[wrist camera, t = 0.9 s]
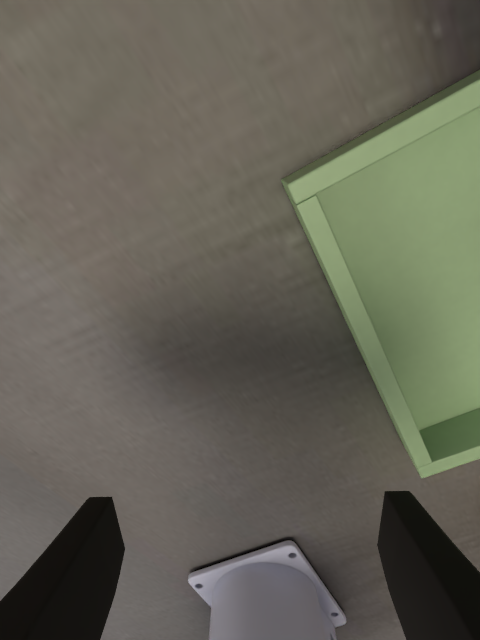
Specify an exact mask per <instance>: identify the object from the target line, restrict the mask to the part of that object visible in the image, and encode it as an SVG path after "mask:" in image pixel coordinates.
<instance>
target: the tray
mask: <svg viewBox="0 0 480 640" xmlns="http://www.w3.org/2000/svg"><path fill="white" fill-rule="evenodd" d="M281 182H282V184H283V186H284V188H285V190H286V193H287V195H288V197H289V199H290V201H291V203H292V206H293V208H294V210H295V212H296V214H297V216H298V218H299V221H300V223H301V225H302V227H303V229H304V231H305V234H306V236H307V238H308V240H309V242H310V244H311V247H312V249H313V251H314V253H315V255H316V257H317V260H318V262H319V264H320V266H321V268H322V270H323V273H324V275H325V277H326V279H327V281H328V283H329V286H330V288H331V290H332V292H333V294H334V296H335V299H336V301H337V303H338V305H339V307H340V309H341V312H342V314H343V316H344V318H345V320H346V322H347V325H348V327H349V329H350V331H351V333H352V335H353V337H354V340H355V342H356V344H357V346H358V348H359V350H360V353H361V355H362V357H363V359H364V361H365V363H366V366H367V368H368V370H369V372H370V374H371V376H372V379H373V381H374V383H375V385H376V387H377V389H378V392H379V394H380V396H381V398H382V400H383V402H384V405H385V407H386V409H387V411H388V413H389V415H390V418H391V420H392V422H393V424H394V426H395V428H396V431H397V433H398V435H399V437H400V439H401V441H402V443H403V445H404V447H405V449H406V451H407V453H408V454H409V456H410V458H411V460H412V462H413V464H414V466H415V468H416V469H417V471H418V473H419V475H420V477H421V478H425V477H428V476H431V475H433V474H436V473H439V472H442V471H445V470H448V469H451V468H454V467H457V466H460V465H462V464H465V463H468V462H471V461H474V460H477V459H480V70H478V71H477V72H475V73H473V74H471V75H469V76H468V77H466V78H464V79H462V80H460V81H458V82H457V83H455V84H453V85H451V86H449V87H448V88H446V89H444V90H442V91H440V92H439V93H437V94H435V95H433V96H431V97H430V98H428V99H426V100H424V101H422V102H421V103H419V104H417V105H415V106H413V107H412V108H410V109H408V110H406V111H404V112H403V113H401V114H399V115H397V116H395V117H393V118H392V119H390V120H388V121H386V122H384V123H383V124H381V125H379V126H377V127H375V128H374V129H372V130H370V131H368V132H366V133H365V134H363V135H361V136H359V137H357V138H356V139H354V140H352V141H350V142H348V143H347V144H345V145H343V146H341V147H339V148H337V149H336V150H334V151H332V152H330V153H328V154H327V155H325V156H323V157H321V158H319V159H318V160H316V161H314V162H312V163H310V164H309V165H307V166H305V167H303V168H301V169H300V170H298V171H296V172H294V173H292V174H291V175H289V176H287V177H285V178H283V179H282V180H281Z"/></svg>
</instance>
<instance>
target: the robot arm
mask: <svg viewBox="0 0 480 640" xmlns="http://www.w3.org/2000/svg"><path fill="white" fill-rule="evenodd" d="M377 546H378V550H379V554H380V558H381V562H382V566H383V570H384V574H385V577H386V581H387V585H388V589H389V592H390V595H391V598H392V601H393V603H394V606H395V609H396V612H397V615H398V617H399V620H400V623H401V626H402V629H403V631H404V634H405V637H406V640H480V572H479V571H478V570H477V569H476V568H475V567H474V566H473V565H472V563H471V562H470V561H469V560H468V559H467V558H466V557H465V556H464V555H463V554H462V552H461V551H460V550H459V549H458V548H457V547H456V546H455V544H454V543H453V542H452V541H451V540H450V539H449V537H448V536H447V535H446V534H445V533H444V532H443V530H442V529H441V528H440V527H439V526H438V525H437V523H436V522H435V521H434V520H433V519H432V517H431V516H430V515H429V514H428V513H427V511H426V510H425V509H424V508H423V507H422V505H421V504H420V503H419V502H418V500H417V499H416V498H415V497H414V496H413V494H412V493H410V492H409V491H385V495H384V502H383V509H382V516H381V523H380V530H379V537H378V544H377ZM124 551H125V547H124V543H123V539H122V535H121V531H120V527H119V523H118V519H117V515H116V511H115V507H114V503H113V499H112V497H89V498H88V499H87V500H86V502H85V503H84V504H83V505H82V506H81V508H80V509H79V510H78V511H77V512H76V514H75V515H74V516H73V517H72V519H71V520H70V521H69V522H68V523H67V525H66V526H65V527H64V528H63V530H62V531H61V532H60V533H59V534H58V536H57V537H56V538H55V539H54V540H53V542H52V543H51V544H50V545H49V546H48V548H47V549H46V550H45V551H44V552H43V554H42V555H41V556H40V557H39V558H38V559H37V560H36V562H35V563H34V564H33V565H32V566H31V567H30V569H29V570H28V571H27V572H26V573H25V574H24V576H23V577H22V578H21V579H20V580H19V581H18V582H17V583H16V585H15V586H14V587H13V588H12V589H11V590H10V591H9V592H8V593H7V594H6V596H5V597H4V598H3V599H2V600H1V601H0V640H100V638H101V635H102V632H103V629H104V626H105V623H106V620H107V617H108V614H109V611H110V608H111V605H112V602H113V598H114V595H115V592H116V588H117V583H118V579H119V575H120V570H121V565H122V561H123V556H124ZM188 582H189V584H190V585H191V586H192V587H193V588H194V589H195V590H196V592H197V593H198V594H199V595H200V596H201V597H202V598H203V599H204V600H205V601H206V603H207V604H208V605H209V606H210V607H211V619H210V632H209V640H337V638H336V633H335V627H338V626H342V625H344V624H345V623H346V616H345V614H344V613H343V611H342V610H341V608H340V607H339V605H338V604H337V602H336V601H335V600H334V598H333V597H332V595H331V594H330V592H329V591H328V589H327V588H326V587H325V585H324V584H323V582H322V581H321V579H320V578H319V576H318V575H317V574H316V572H315V571H314V569H313V568H312V566H311V565H310V563H309V562H308V561H307V559H306V558H305V556H304V555H303V553H302V552H301V550H300V549H299V548H298V546H297V545H296V543H295V542H293V541H290V540H287V541H284V542H281V543H278V544H275V545H272V546H269V547H266V548H263V549H260V550H257V551H254V552H251V553H248V554H245V555H242V556H239V557H236V558H233V559H230V560H227V561H224V562H221V563H218V564H215V565H212V566H209V567H206V568H203V569H200V570H197V571H194V572H192V573H190V574H189V577H188Z"/></svg>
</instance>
